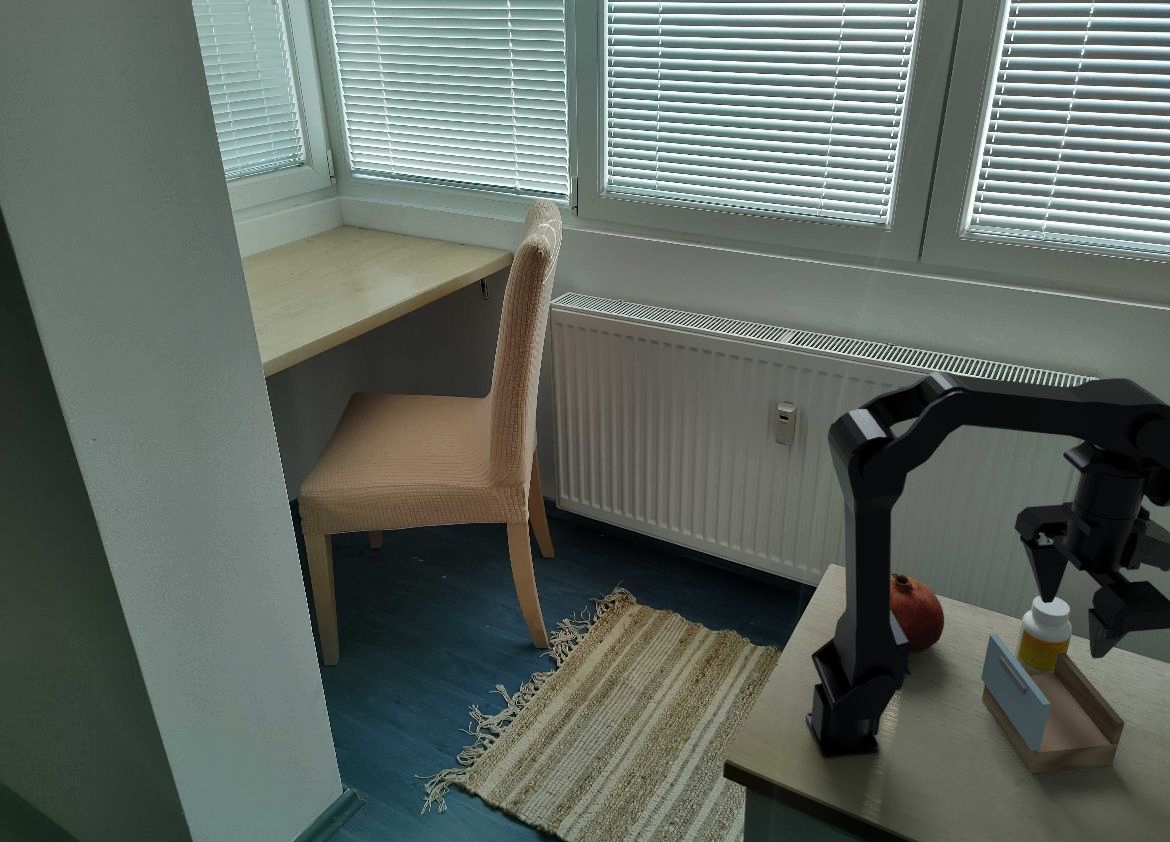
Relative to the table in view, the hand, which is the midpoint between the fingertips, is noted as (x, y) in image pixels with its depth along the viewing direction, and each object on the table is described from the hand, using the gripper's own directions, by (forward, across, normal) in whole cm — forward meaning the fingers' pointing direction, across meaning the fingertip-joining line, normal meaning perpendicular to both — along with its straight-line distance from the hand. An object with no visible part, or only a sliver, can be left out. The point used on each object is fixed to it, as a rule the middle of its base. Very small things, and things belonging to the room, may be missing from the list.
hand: (1071, 628), depth 97 cm
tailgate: (+10, -1, +6) cm, 12 cm away
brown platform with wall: (+13, -1, +1) cm, 13 cm away
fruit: (+14, +15, +11) cm, 23 cm away
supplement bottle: (+13, +8, -4) cm, 16 cm away
